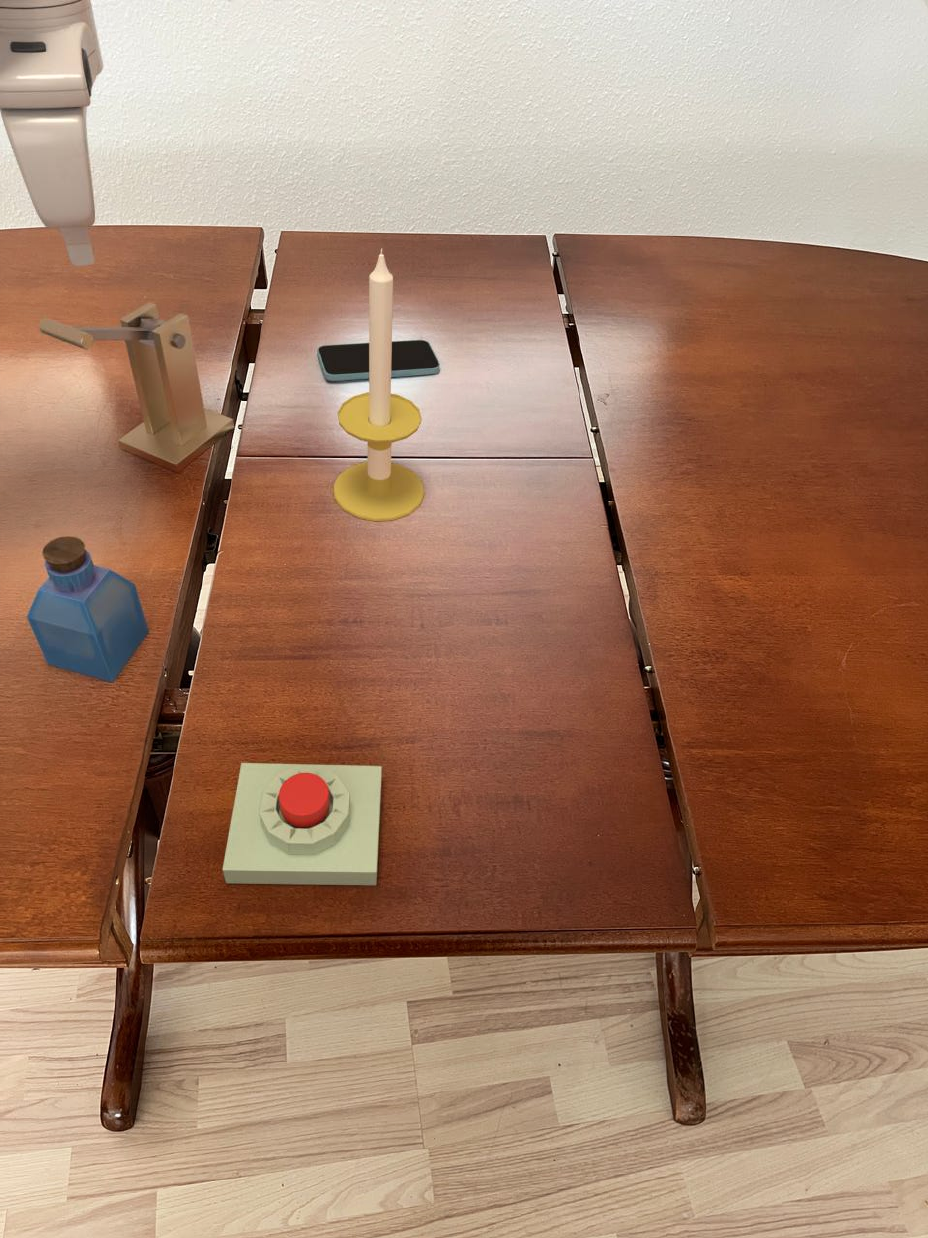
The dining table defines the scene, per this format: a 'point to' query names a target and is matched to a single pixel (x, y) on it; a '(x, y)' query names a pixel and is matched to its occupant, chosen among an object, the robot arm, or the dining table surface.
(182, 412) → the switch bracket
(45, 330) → the lever
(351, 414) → the candle
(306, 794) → the button
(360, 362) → the smartphone
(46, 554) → the perfume bottle
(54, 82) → the robot arm
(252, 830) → the control box
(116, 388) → the dining table surface
